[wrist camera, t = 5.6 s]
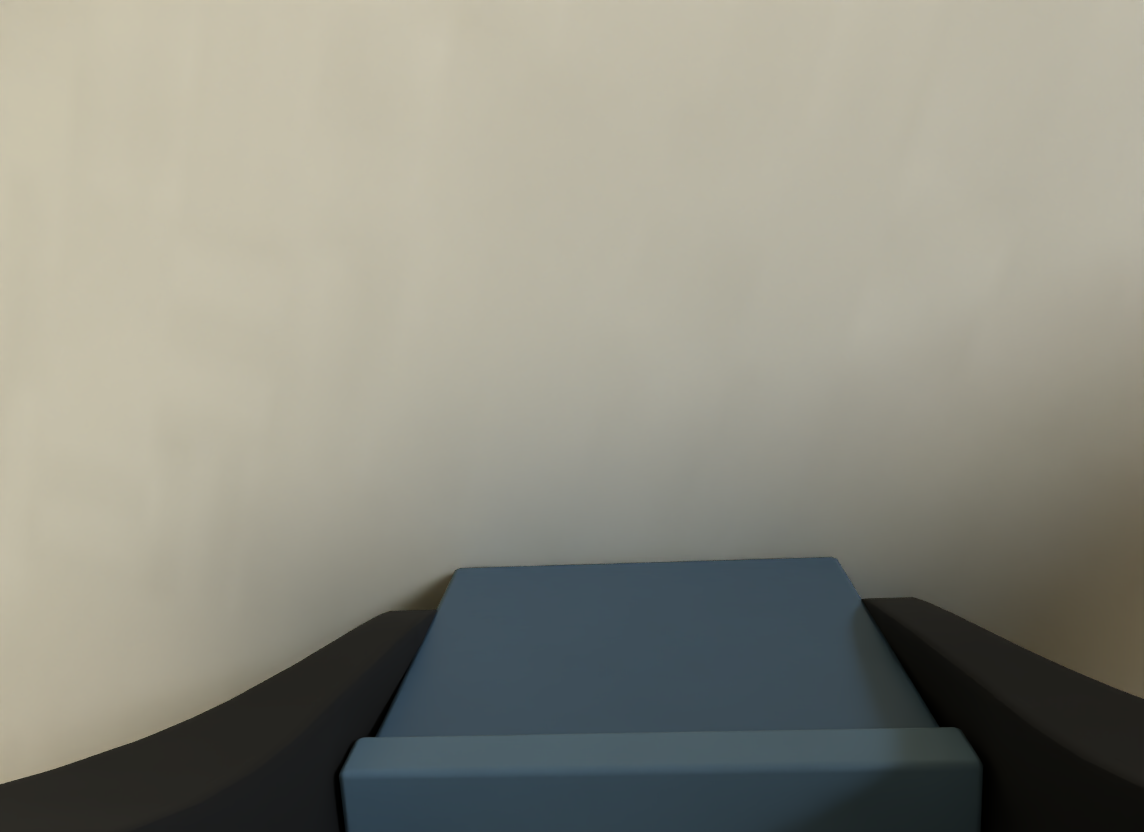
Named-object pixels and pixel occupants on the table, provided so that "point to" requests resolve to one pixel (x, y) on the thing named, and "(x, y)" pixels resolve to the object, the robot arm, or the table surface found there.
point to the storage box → (659, 710)
